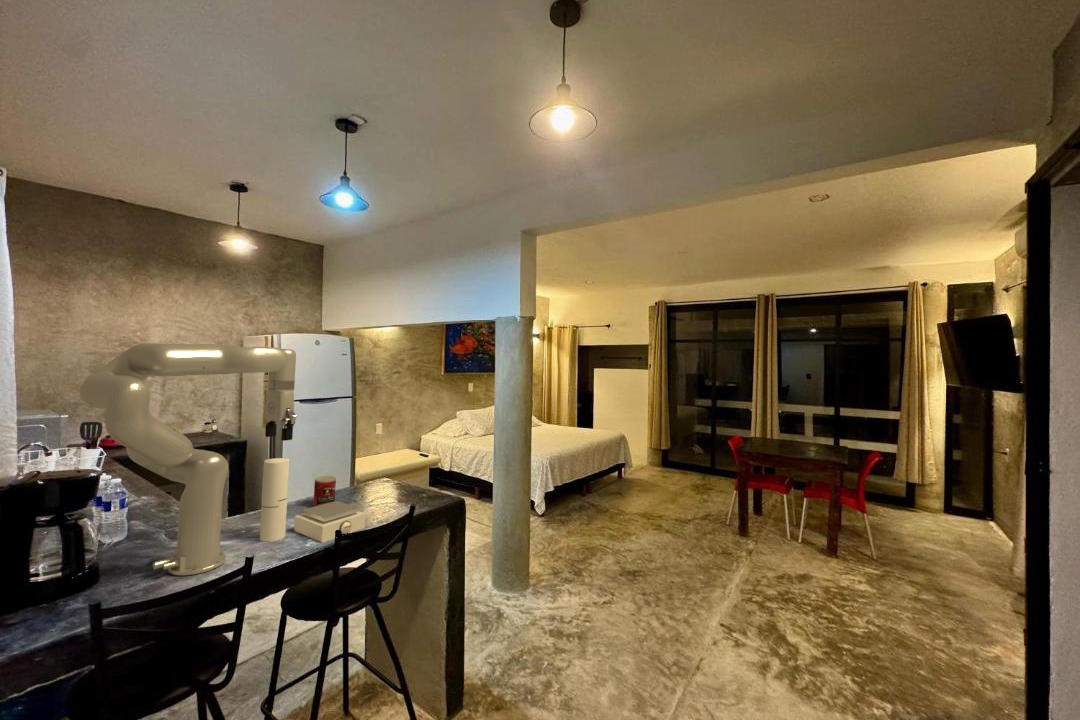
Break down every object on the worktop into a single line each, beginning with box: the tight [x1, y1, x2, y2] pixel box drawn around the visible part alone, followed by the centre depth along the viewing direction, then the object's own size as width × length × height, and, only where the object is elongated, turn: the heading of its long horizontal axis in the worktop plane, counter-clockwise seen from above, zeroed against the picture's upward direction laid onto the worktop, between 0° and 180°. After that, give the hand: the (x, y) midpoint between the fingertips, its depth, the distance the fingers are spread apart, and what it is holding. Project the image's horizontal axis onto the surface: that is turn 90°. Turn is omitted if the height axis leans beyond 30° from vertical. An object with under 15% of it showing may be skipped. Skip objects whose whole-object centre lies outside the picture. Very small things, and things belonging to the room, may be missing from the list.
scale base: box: [293, 511, 367, 543], centre depth 150 cm, size 16×17×5 cm
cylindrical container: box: [259, 457, 290, 543], centre depth 141 cm, size 7×7×25 cm
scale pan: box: [301, 500, 360, 522], centre depth 150 cm, size 13×13×1 cm
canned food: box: [313, 475, 337, 507], centre depth 173 cm, size 8×8×11 cm
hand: (278, 438), depth 142 cm, fingers open, 9 cm apart
